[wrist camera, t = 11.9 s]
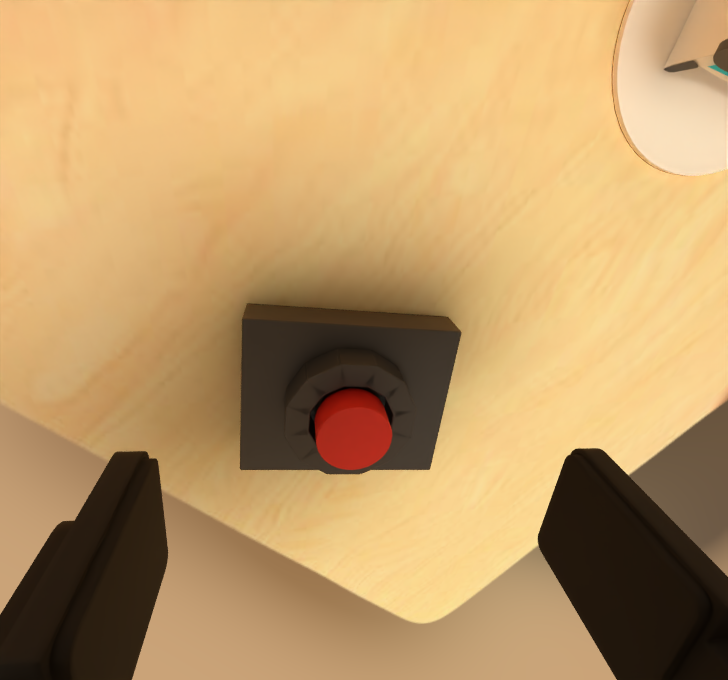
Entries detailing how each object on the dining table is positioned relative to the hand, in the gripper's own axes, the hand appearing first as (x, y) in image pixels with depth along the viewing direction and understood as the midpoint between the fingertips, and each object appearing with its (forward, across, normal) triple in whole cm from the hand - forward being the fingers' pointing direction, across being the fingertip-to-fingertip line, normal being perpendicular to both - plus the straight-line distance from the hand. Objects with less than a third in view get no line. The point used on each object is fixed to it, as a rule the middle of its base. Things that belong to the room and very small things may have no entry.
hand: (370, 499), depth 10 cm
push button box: (+14, -1, +5) cm, 15 cm away
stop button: (+11, -1, +5) cm, 12 cm away
